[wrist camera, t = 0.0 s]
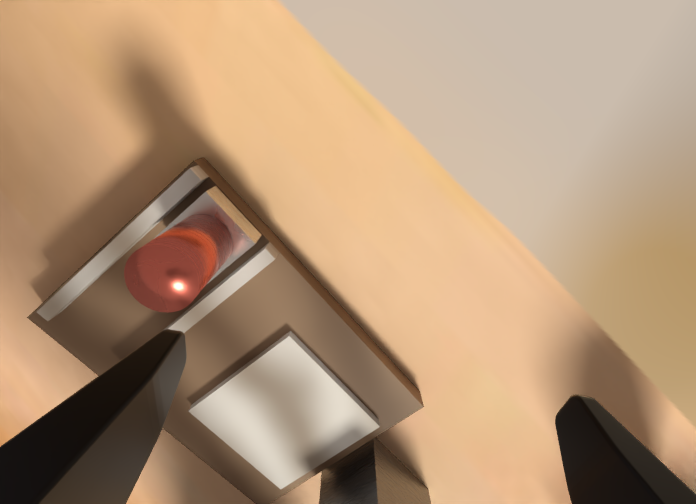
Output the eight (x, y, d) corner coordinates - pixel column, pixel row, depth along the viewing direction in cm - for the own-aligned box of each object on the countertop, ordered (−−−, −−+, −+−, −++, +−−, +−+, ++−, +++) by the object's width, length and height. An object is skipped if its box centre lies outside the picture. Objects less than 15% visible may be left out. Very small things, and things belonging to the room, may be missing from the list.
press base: (265, 490, 31) (258, 524, 29) (45, 306, 26) (11, 327, 23) (420, 392, 28) (426, 420, 25) (204, 157, 23) (185, 163, 20)
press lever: (212, 276, 23) (161, 336, 17) (166, 230, 22) (95, 276, 16) (261, 235, 22) (227, 282, 16) (215, 185, 21) (160, 216, 15)
